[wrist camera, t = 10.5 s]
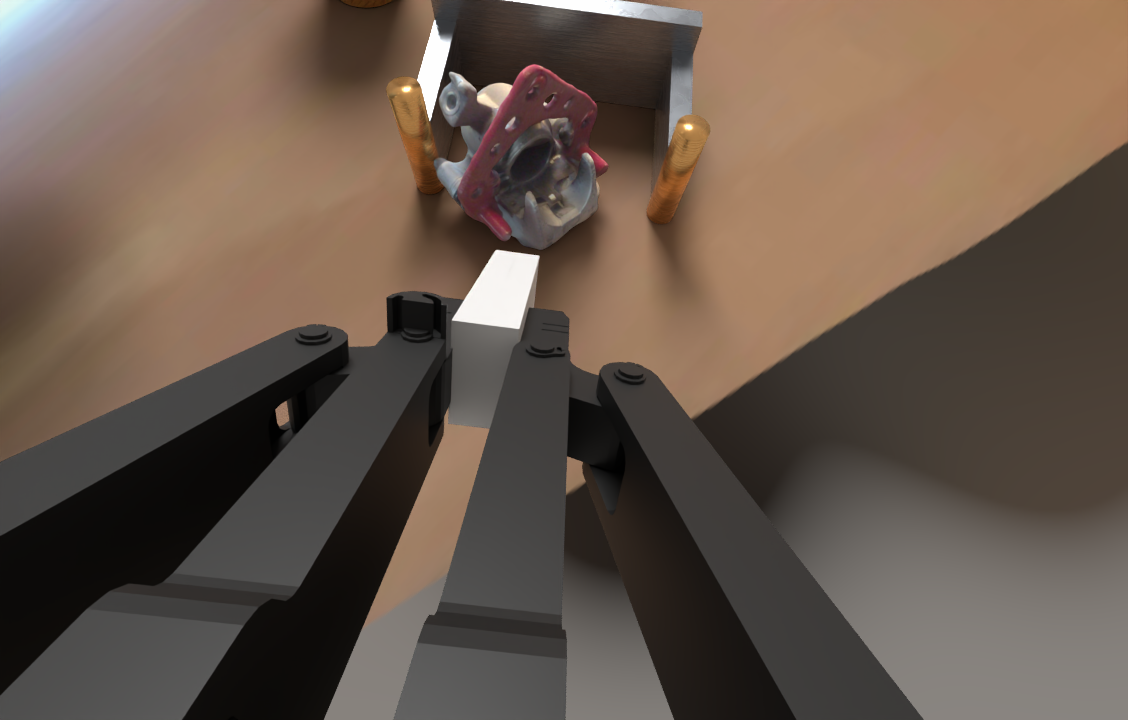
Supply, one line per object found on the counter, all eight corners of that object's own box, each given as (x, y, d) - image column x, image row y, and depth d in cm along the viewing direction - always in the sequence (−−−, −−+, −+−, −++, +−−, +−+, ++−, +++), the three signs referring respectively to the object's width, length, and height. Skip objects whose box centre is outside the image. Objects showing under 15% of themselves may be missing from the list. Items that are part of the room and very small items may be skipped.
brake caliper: (531, 294, 31) (432, 95, 23) (460, 257, 39) (370, 102, 31) (657, 200, 34) (605, -2, 26) (567, 184, 42) (507, 27, 34)
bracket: (414, 192, 36) (382, 100, 28) (447, 67, 40) (427, -42, 32) (672, 225, 36) (710, 143, 28) (677, 97, 40) (710, -3, 33)
